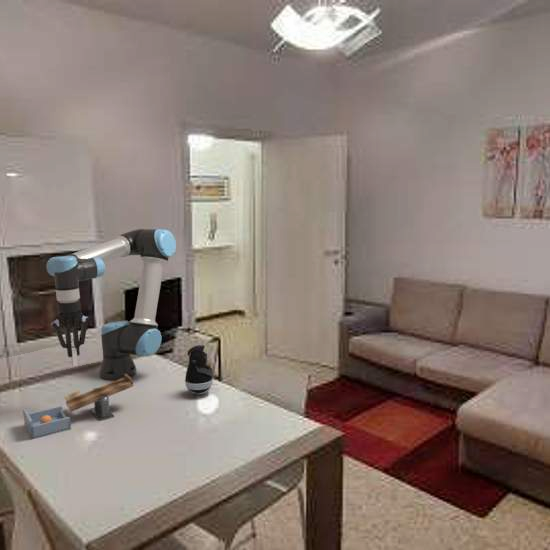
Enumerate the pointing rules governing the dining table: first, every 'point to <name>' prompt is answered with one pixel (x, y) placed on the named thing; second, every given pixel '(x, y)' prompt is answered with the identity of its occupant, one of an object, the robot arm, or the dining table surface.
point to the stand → (102, 408)
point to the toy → (198, 371)
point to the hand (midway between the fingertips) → (74, 364)
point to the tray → (56, 425)
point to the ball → (45, 419)
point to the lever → (97, 393)
